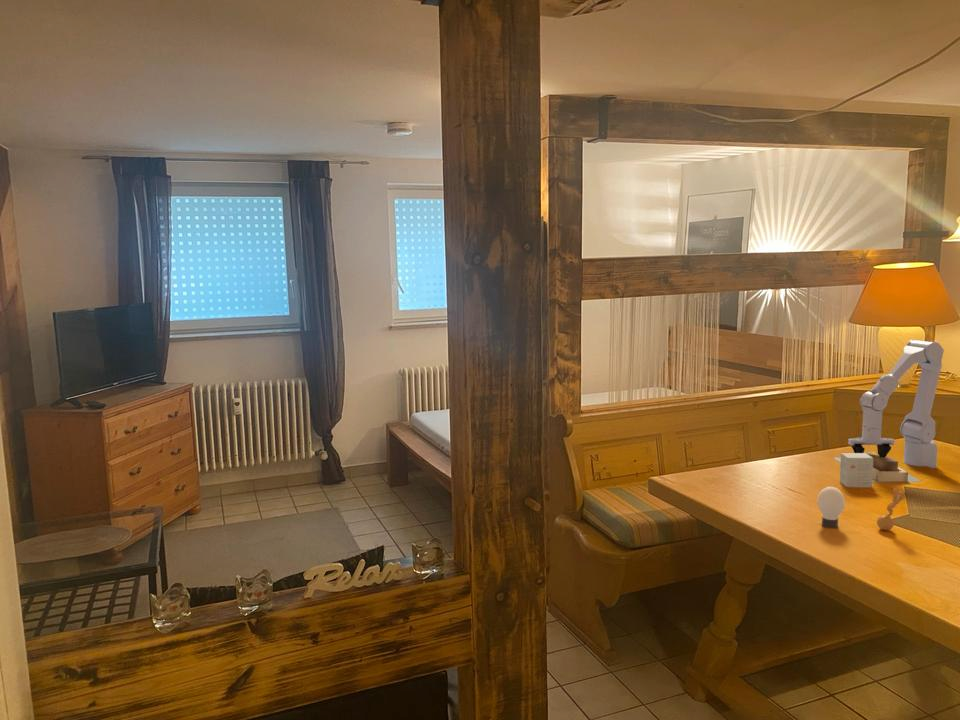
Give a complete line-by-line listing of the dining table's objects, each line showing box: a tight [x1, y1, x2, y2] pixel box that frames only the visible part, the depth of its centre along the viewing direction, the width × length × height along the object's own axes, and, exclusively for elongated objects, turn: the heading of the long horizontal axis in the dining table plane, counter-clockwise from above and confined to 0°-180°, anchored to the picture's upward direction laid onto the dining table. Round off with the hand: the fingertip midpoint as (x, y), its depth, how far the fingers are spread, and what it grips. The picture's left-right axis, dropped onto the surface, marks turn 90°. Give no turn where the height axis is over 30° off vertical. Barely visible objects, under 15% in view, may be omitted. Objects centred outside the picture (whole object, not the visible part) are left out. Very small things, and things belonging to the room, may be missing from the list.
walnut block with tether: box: [864, 451, 899, 471], centre depth 238 cm, size 5×15×6 cm, turn 177°
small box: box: [839, 452, 873, 488], centre depth 226 cm, size 8×6×10 cm
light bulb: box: [817, 486, 846, 528], centre depth 195 cm, size 7×7×11 cm
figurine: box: [876, 488, 905, 531], centre depth 190 cm, size 8×6×12 cm
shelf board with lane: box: [833, 457, 922, 483], centre depth 242 cm, size 16×28×4 cm, turn 177°
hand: (869, 465), depth 244 cm, fingers open, 6 cm apart
